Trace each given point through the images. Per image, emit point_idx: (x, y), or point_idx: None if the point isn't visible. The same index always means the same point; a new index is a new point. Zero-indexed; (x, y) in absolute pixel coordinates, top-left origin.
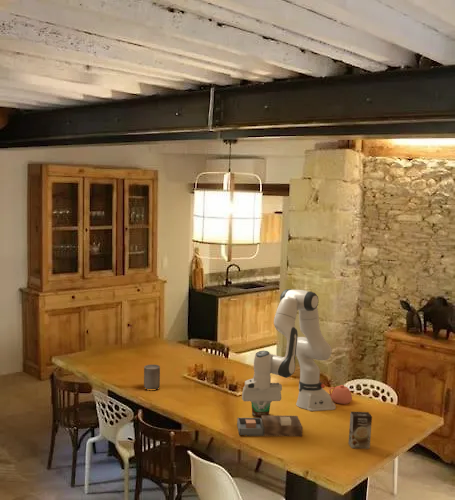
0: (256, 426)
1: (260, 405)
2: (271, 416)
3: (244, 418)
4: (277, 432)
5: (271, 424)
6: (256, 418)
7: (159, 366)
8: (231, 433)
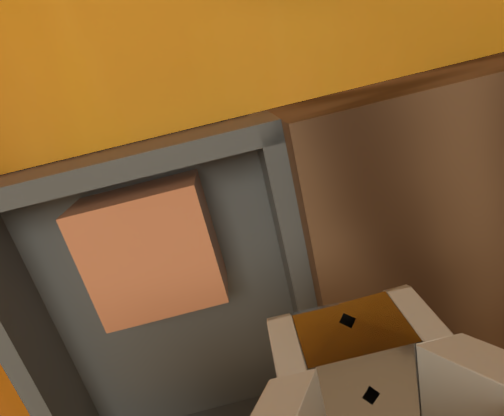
0: (227, 230)
1: (341, 399)
2: (457, 128)
3: (31, 203)
4: None
5: None
6: (211, 158)
7: None
8: (14, 411)
